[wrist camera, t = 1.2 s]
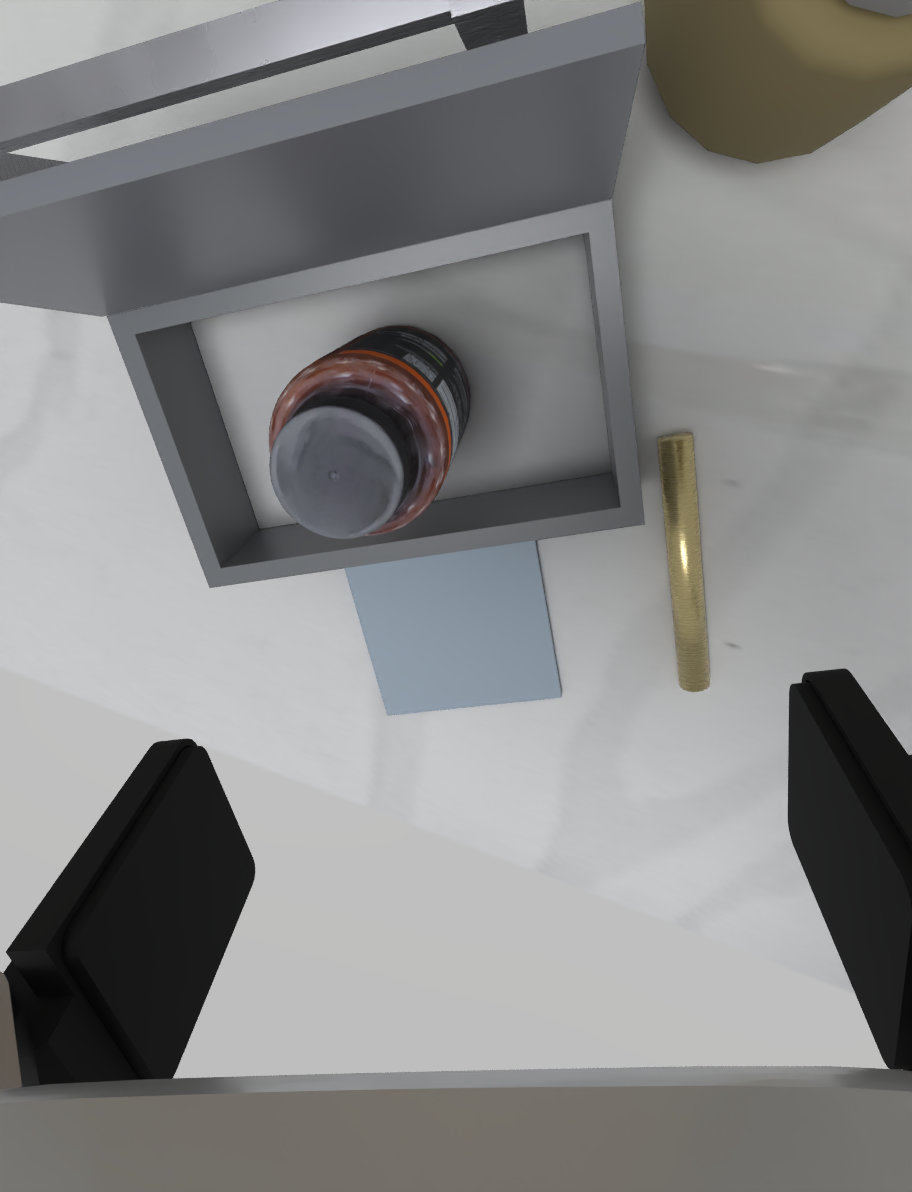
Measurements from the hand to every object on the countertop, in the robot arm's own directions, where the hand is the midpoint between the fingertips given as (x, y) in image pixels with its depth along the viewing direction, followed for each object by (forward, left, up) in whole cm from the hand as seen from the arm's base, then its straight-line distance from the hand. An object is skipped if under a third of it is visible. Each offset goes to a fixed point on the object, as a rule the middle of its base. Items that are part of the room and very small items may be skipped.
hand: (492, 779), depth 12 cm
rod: (-7, -5, -22) cm, 23 cm away
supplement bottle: (+3, +5, -22) cm, 23 cm away
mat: (-8, +5, -22) cm, 24 cm away
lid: (+9, +5, -12) cm, 16 cm away
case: (+3, +5, -22) cm, 23 cm away
